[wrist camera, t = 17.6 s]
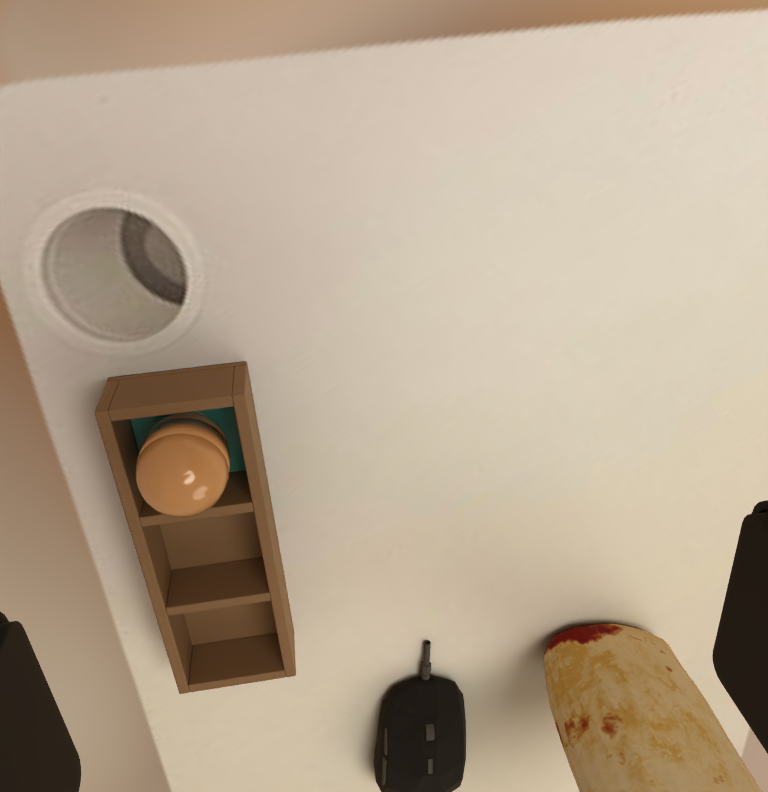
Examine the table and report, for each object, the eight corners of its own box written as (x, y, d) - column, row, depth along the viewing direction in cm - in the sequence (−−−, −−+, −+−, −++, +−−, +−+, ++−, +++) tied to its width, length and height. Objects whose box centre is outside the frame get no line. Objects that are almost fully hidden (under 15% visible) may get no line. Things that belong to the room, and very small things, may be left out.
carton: (185, 648, 45) (179, 694, 42) (108, 377, 36) (93, 412, 33) (294, 631, 45) (296, 676, 42) (246, 361, 36) (244, 394, 33)
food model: (670, 600, 49) (891, 936, 32) (649, 670, 52) (838, 1009, 35) (530, 611, 47) (680, 968, 30) (517, 682, 51) (646, 1041, 33)
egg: (129, 419, 36) (108, 485, 31) (204, 382, 36) (194, 444, 31) (176, 479, 38) (163, 550, 33) (247, 445, 38) (244, 512, 33)
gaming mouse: (474, 636, 48) (490, 686, 44) (454, 777, 55) (467, 830, 52) (378, 643, 47) (387, 695, 44) (371, 786, 54) (379, 840, 51)
